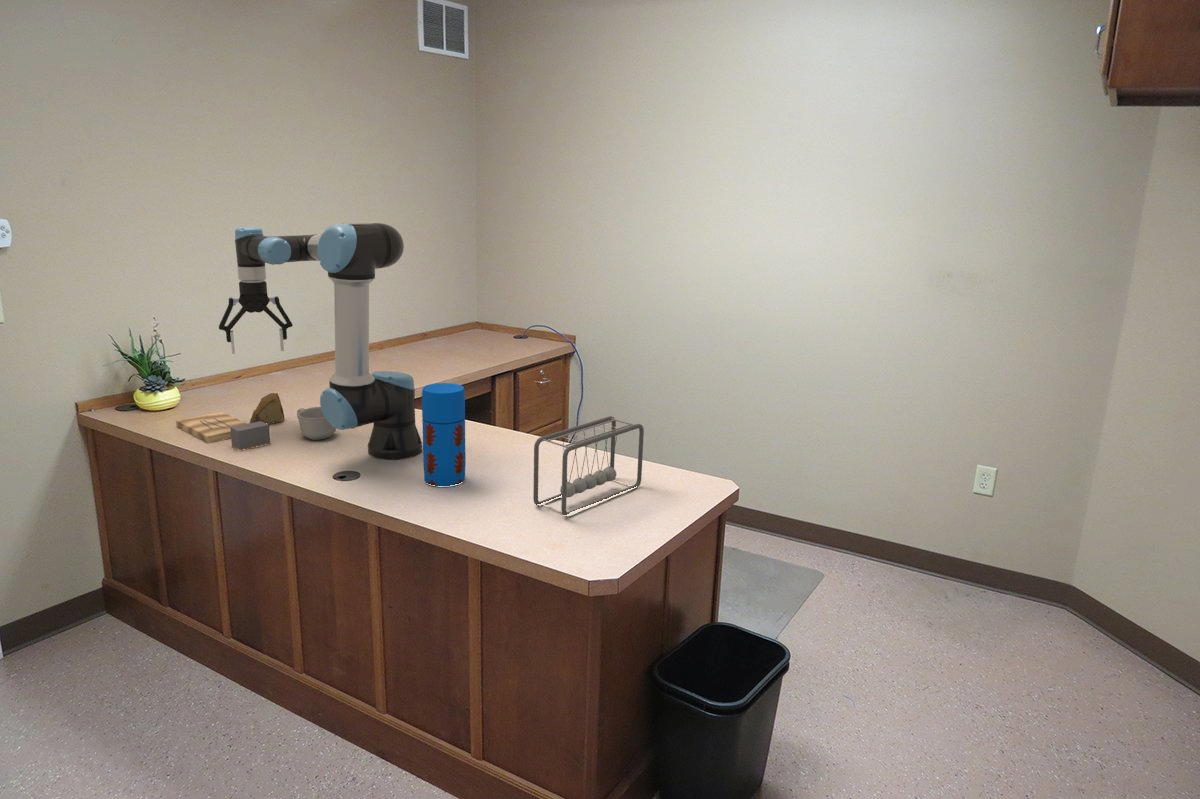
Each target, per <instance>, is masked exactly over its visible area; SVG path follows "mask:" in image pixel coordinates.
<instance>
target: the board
mask: <svg viewBox="0 0 1200 799" xmlns="http://www.w3.org/2000/svg"><path fill="white" fill-rule="evenodd" d="M175 424H176V427H177V428H178V427H179V428H178V429H180V428H181V430H182V429H183V430H182V431H184V432H186V433H188V434H189V435H192V436H194V437H195V436H196V437H195V438H197V437H198V438H197V439H200V440H201V441H203V442H205V443H207V444H210V443H211V444H212V443H215V441H216V442H220V440H221V441H224V440H223V439H226V440H229V439H228V438H230V439H231V431H230V427H234V426H239V425H244V424H248V423H247V422H245V421H242V420H240V419H238V418H236V417H233V416H232V415H230V414H228V413H225V412H223V411H219V412H218V411H217V412H212V413H208V414H203V415H197V416H191V417H187V418H181V419H175Z"/></svg>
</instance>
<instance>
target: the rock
mask: <svg viewBox="0 0 1200 799" xmlns="http://www.w3.org/2000/svg"><path fill="white" fill-rule="evenodd" d="M284 412H285V411H284V408H283V405H282V403H281V398H280V396H279V393H278V392H276V393H274V392H270V393H269V394H268V393H267V395H265V396H263V397H261V399H260V401H259V402H258V404H257V407H256V408H255V409H254V410H253V412H252V415H251V418H250V420H249V423H254V422H259V421H262V422H264V423H271V424H274V423H273V422H276V423H281V422H284V421H285V414H284Z"/></svg>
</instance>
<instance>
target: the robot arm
mask: <svg viewBox="0 0 1200 799" xmlns="http://www.w3.org/2000/svg"><path fill="white" fill-rule="evenodd" d="M234 238H235V239H234V244H235V254H236V263H237V277H238V280H239V282H238V286H239V287H238V288H239V298H234V297H232V296H231V297H230V296H229V297H228V305H227V307H226V309H225V311H224V314H223V316H222V318H221V321H220V322H219V325H218V330H221V331H224V332H225V335H226V336H225V338H226V342H227V343H230V344H231V345H230V346H231V354H234V355H235V354H236V351H235V339H234V330H232V329H233V327H235V325H237V323H238V321H239V320H241V318H242V317H243V316H244V315H245V314H246V312H248V313H262V312H264V313H266V314H267V315H268V316H269V317H270V318H271V319H272V320H273V321H274V322H275V323H276V324H277V325H278V326H279V330H278V331H279V342H280V345H279V346H280V351H281V352H285V347H284V346H285V345H284V344H285V343H284V341H285V340H287V339H288V334H287V333H288V332H287V331H288V330H287V329H289V328H292V327H293V323H292V321H291V319H290V318H289V316H288V314H287V313H286V311H285V310H284V308H283V306H282V304H281V303H280V299H279V296H278V295H275V296H271V297H269V295H268V287H267V281H265V280H266V279H267V273H266V272H267V271H266V269H267V268H266V264H269V265H272V266H275V265H283V264H286V263H294V262H295V263H297V262H316V261H318V262H319V265H320V266H321V268H322V269H323V270H324V271H326V272H327V277H328V278H329V280H330V281H332V283H333V284H334V285H333V290H334V291H333V292H334V355H335V356H334V361H335V362H334V364H335V370H334V373H333V374H332V375H331V376H330V377H329V380H328V382H329V385H328V386H329V387H327V388H325V389H324V390H322V392H321V394H320V397H319V403H320V407H321V409H322V412H323V414H324V416H325V418H326V419H327V421H328V422H329V423H330V424H331V425H332V426H333V427H335V428H336V430H342V431H344V430H349V429H351V430H352V429H356V428H359V427H362V426H366V425H369V424H373V425H372V426H373V427H372V429H371V434H370V437H369V441H368V444H367V452H368V455H370V456H371V457H373V458H376V459H381V460H403V459H407V458H412V457H415V456H418V455H420V454H421V452H422V453H423V440H422V439H421V436H420V434H419V431H418V428H417V426H416V405H415V404H416V403H415V401H416V398H415V396H416V395H415V391H416V389H415V380H414V377H413V375H410V374H409V373H405V372H399V371H389V370H388V371H387V370H386V371H385V370H379V371H373V372H372V373H370V284H371V283H372V282H373V281H374V280H375V279H376V270H377V269H385V268H389V267H391V266H393V265H394V264H396V263H398V261H399V260H400V259H401V257H402V256H403V253H404V248H405V244H404V240H403V237H402V235H401V233H400V232H399V231H398V230H397V229H396V228H394V226H391V225H389V224H386V223H381V222H375V223H374V222H373V223H341V224H333V225H331V226H330V225H329V226H328V227H326V228H325V230H324V231H323V232H322V233H321V234H318V233H317V234H316V233H315V234H305V235H304V234H302V235H298V234H297V235H277V236H276V235H275V236H273V235H272V236H268V235H264V232H263V229H262V227H260V226H259V227H257V226H238V227H236V228H235V230H234ZM270 302H271V303H272V304H273V305H276V308H277V310H278V312H279V313H280V314H281V316H282V318H283V319H284V321H285V322H286V323H284V322H283V321H282V320H281V319H280V318H279V317H278V316H277V315H276V314H275V313H274V312H273V311H272V310H271V309H270V307H268V304H269V303H270ZM237 304H239V305H240V306H241V308H240V309H239V311H238V312H237V313H236V314H235V316H234V317H233V318H231V319H232V320H230V322H229V323H228V325H226V323H227V321H228V319H229V317H230V314H231V313H232V310H233V307H234V306H236V305H237Z"/></svg>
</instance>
